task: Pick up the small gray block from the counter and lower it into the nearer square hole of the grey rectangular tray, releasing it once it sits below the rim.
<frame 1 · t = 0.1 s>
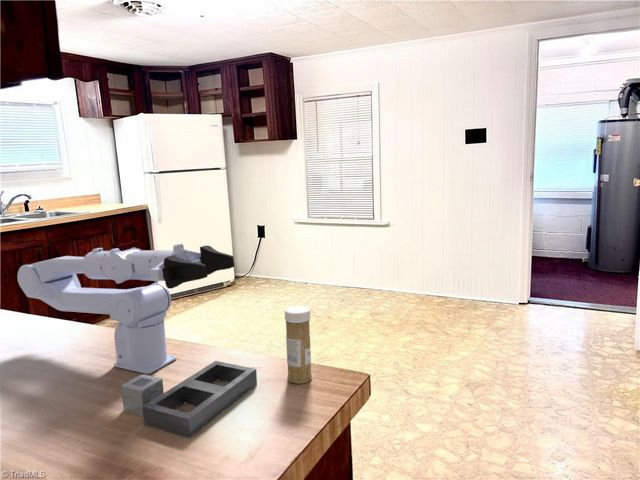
hand: (219, 266, 84), 22 cm above the kitchen counter, tool horizontal, fingers open, 7 cm apart
grey rectangular tray: (204, 403, 80), on the kitchen counter
gray block: (144, 407, 79), on the kitchen counter
sprinkles bottle: (299, 379, 88), on the kitchen counter
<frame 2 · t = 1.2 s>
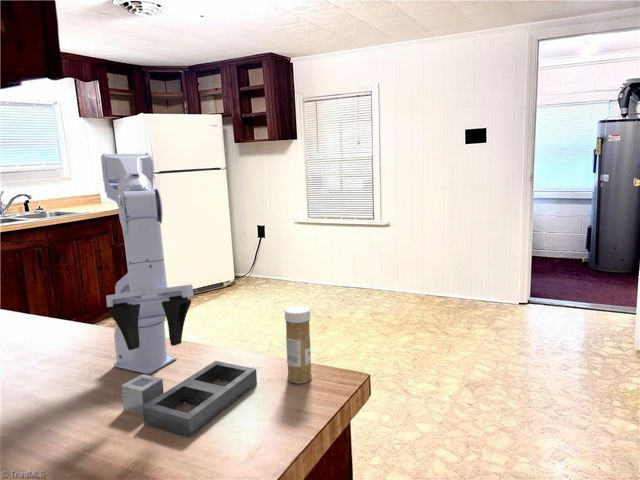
hand: (154, 346, 77), 10 cm above the kitchen counter, tool pointing down, fingers open, 7 cm apart
nothing on the kitchen counter moved.
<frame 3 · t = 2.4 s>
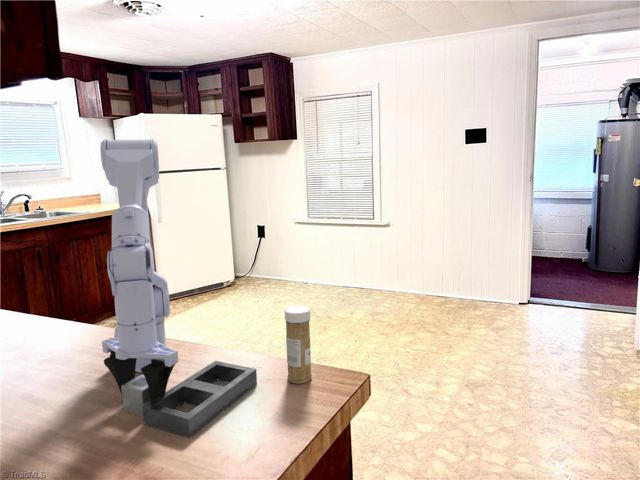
hand: (143, 398, 79), 1 cm above the kitchen counter, tool pointing down, fingers open, 6 cm apart
nothing on the kitchen counter moved.
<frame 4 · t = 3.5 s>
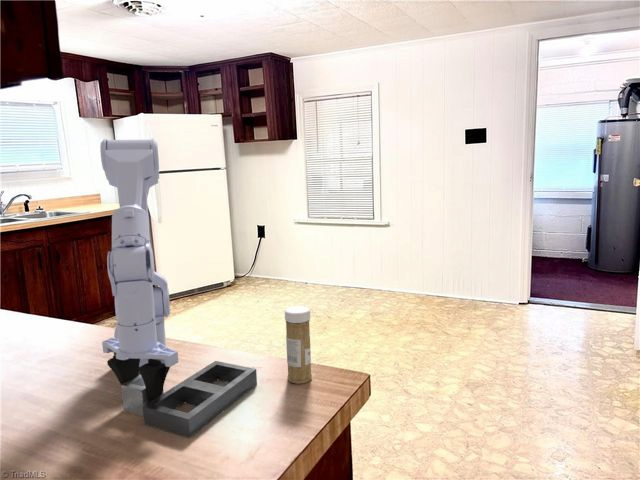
hand: (143, 399, 79), 1 cm above the kitchen counter, tool pointing down, fingers closed on gray block, 4 cm apart
gray block: (144, 406, 79), on the kitchen counter, touching gripper
everything else where it was.
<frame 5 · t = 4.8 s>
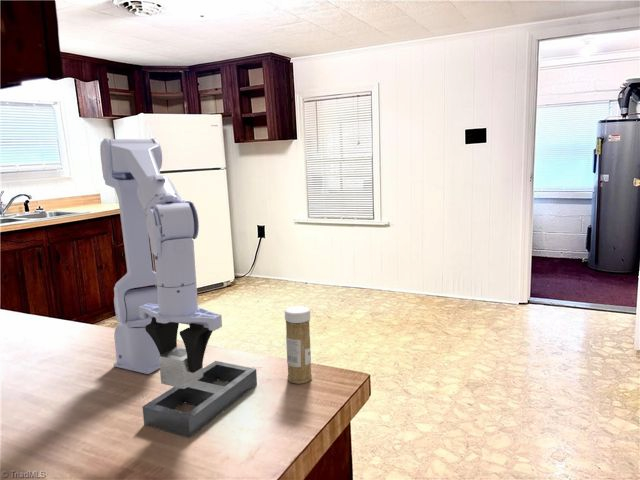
hand: (183, 367, 74), 8 cm above the kitchen counter, tool pointing down, fingers closed on gray block, 4 cm apart
gray block: (182, 379, 74), point 6 cm above the kitchen counter, touching gripper
everything else where it was.
when the fingers open (4 cm above the kitchen counter, at t = 6.5 s): gray block drops 2 cm, resting in grey rectangular tray.
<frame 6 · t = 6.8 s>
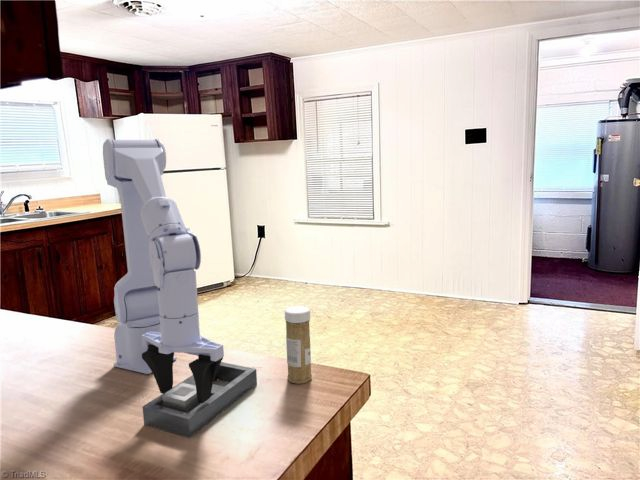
hand: (185, 395, 75), 4 cm above the kitchen counter, tool pointing down, fingers open, 7 cm apart
gray block: (185, 417, 76), resting in grey rectangular tray
everything else where it was.
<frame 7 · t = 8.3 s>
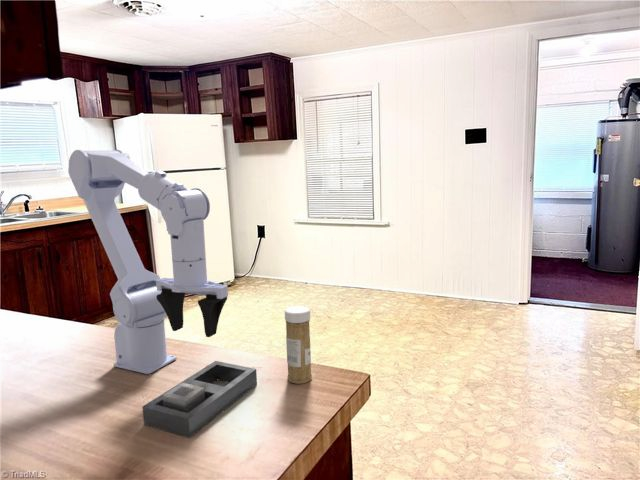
hand: (194, 332, 86), 9 cm above the kitchen counter, tool pointing down, fingers open, 7 cm apart
nothing on the kitchen counter moved.
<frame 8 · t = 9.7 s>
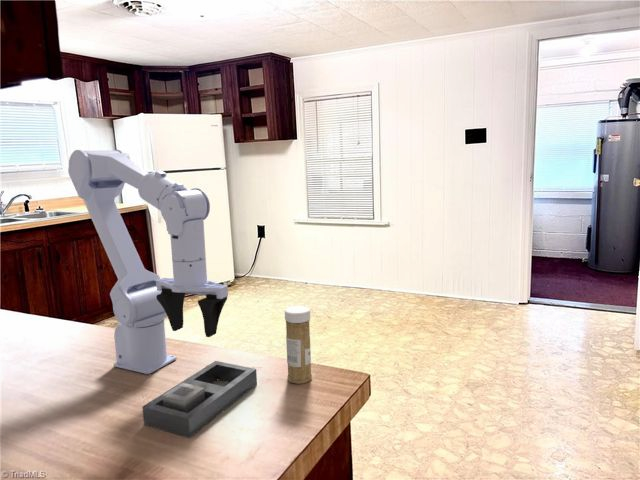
hand: (194, 332, 86), 9 cm above the kitchen counter, tool pointing down, fingers open, 7 cm apart
nothing on the kitchen counter moved.
at the end: gray block 0.3 cm from the target spot on the grey rectangular tray, point 0.0 cm above the grey rectangular tray's base; the gripper is holding nothing; gray block tilted 0° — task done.
